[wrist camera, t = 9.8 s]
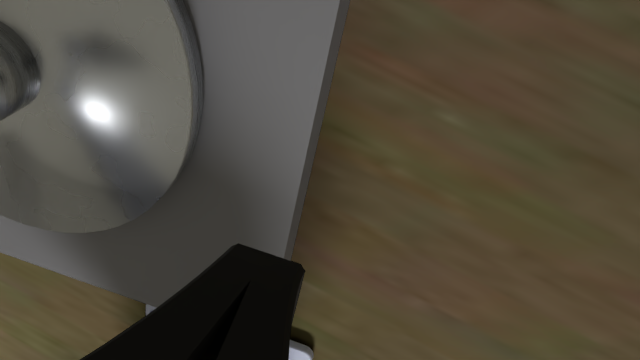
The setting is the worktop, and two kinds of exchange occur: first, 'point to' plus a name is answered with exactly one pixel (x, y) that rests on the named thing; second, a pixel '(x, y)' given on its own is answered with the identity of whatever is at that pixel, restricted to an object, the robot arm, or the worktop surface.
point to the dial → (94, 109)
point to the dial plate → (219, 155)
